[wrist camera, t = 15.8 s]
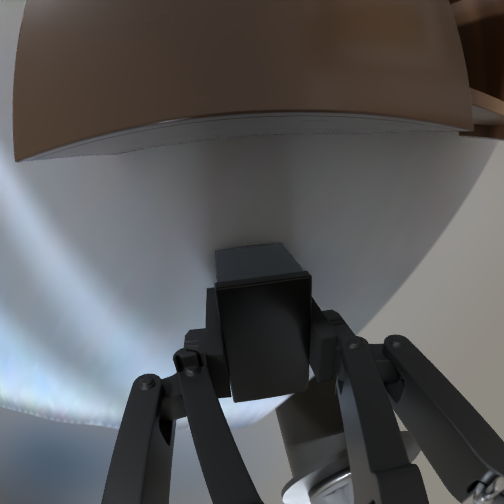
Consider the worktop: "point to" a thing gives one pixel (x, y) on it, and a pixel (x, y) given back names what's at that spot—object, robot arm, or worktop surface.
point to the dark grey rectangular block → (264, 320)
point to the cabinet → (231, 72)
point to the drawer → (483, 63)
